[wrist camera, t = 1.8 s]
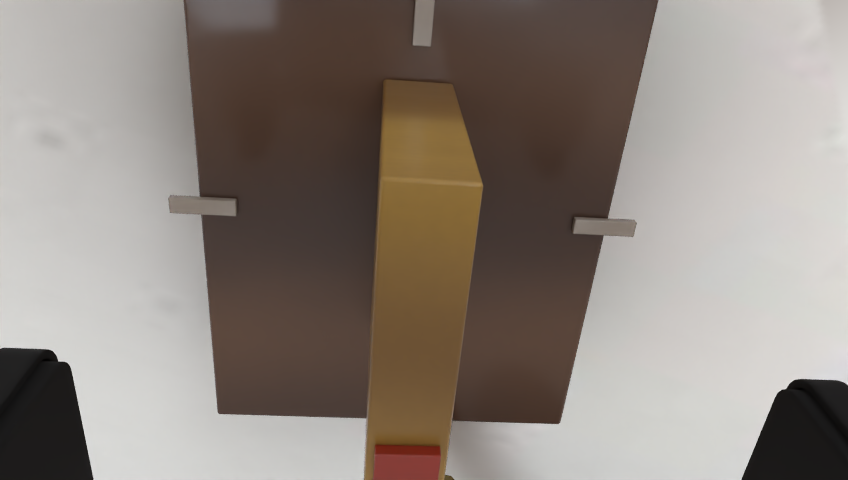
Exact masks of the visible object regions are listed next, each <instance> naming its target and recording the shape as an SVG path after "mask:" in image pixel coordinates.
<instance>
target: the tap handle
mask: <svg viewBox="0 0 848 480" xmlns="http://www.w3.org/2000/svg"><path fill="white" fill-rule="evenodd" d="M482 191H483V183H482V180H481V177H480V173H479V170H478V167H477V163H476V160H475V157H474V154H473V150H472V147H471V144H470V140H469V137H468V134H467V130H466V127H465V124H464V120H463V117H462V114H461V110H460V107H459V104H458V100H457V97H456V94H455V90H454V87H453V85H452V84H447V83H432V82H417V81H402V80H388V79H386V80H384V82H383V96H382V115H381V134H380V153H379V172H378V191H377V210H376V229H375V248H374V267H373V286H372V305H371V324H370V347H369V370H368V394H367V417H366V440H365V463H364V480H444V478H445V471H446V463H447V455H448V448H449V440H450V433H451V425H452V418H453V410H454V403H455V395H456V387H457V380H458V372H459V365H460V357H461V350H462V342H463V335H464V327H465V319H466V312H467V304H468V297H469V289H470V282H471V274H472V267H473V259H474V252H475V244H476V236H477V229H478V221H479V214H480V206H481V199H482Z"/></svg>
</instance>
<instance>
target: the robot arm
mask: <svg viewBox="0 0 848 480" xmlns="http://www.w3.org/2000/svg"><path fill="white" fill-rule="evenodd" d="M0 480H93V475H92V470H91V465H90V460H89V455H88V450H87V445H86V440H85V436H84V431H83V426H82V421H81V416H80V411H79V406H78V401H77V396H76V391H75V386H74V381H73V376H72V371H71V368H70V366H69V364H68V363H66V362H58V359H57V356H56V355H55V353H54V352H53V351H51V350H46V349H21V348H2V349H0ZM742 480H848V385H847V384H845V383H844V382H841V381H836V380H811V379H798V380H794V381H793V382H791V383H790V384H789V386H788V387H787V389H785V390H781V391H780V392H778V394H777V395H776V397H775V399H774V402H773V404H772V407H771V409H770V411H769V414H768V416H767V419H766V421H765V424H764V426H763V429H762V431H761V433H760V436H759V438H758V441H757V443H756V446H755V448H754V450H753V453H752V455H751V458H750V460H749V463H748V465H747V467H746V470H745V472H744V475H743V477H742Z"/></svg>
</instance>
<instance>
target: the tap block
mask: <svg viewBox="0 0 848 480" xmlns="http://www.w3.org/2000/svg"><path fill="white" fill-rule="evenodd" d="M657 4H658V0H184V11H185V23H186V35H187V47H188V59H189V71H190V83H191V95H192V107H193V119H194V131H195V144H196V156H197V168H198V180H199V192H200V197H196V196H177V195H170V196H169V198H168V200H169V209H170V213H182V214H201V216H202V228H203V240H204V252H205V264H206V277H207V289H208V301H209V313H210V325H211V337H212V349H213V361H214V373H215V385H216V398H217V410H218V413H219V414H237V415H271V416H306V417H340V418H366V417H367V394H368V370H369V347H370V324H371V305H372V286H373V267H374V248H375V229H376V210H377V191H378V172H379V153H380V134H381V115H382V96H383V82H384V80H386V79H388V80H402V81H417V82H432V83H447V84H452V85H453V87H454V90H455V94H456V97H457V100H458V104H459V107H460V110H461V114H462V117H463V120H464V124H465V127H466V130H467V134H468V137H469V140H470V144H471V147H472V150H473V154H474V157H475V160H476V163H477V167H478V170H479V173H480V177H481V180H482V183H483V191H482V199H481V206H480V214H479V221H478V229H477V236H476V244H475V252H474V259H473V267H472V274H471V282H470V289H469V297H468V304H467V312H466V319H465V327H464V335H463V342H462V350H461V357H460V365H459V372H458V380H457V387H456V395H455V403H454V410H453V418H452V421H476V422H510V423H544V424H559V423H560V421H561V417H562V413H563V408H564V404H565V400H566V395H567V391H568V387H569V382H570V378H571V374H572V370H573V365H574V361H575V357H576V352H577V348H578V344H579V339H580V335H581V331H582V326H583V322H584V318H585V314H586V309H587V305H588V301H589V296H590V292H591V288H592V283H593V279H594V275H595V271H596V266H597V262H598V258H599V253H600V249H601V245H602V240H603V236H604V235H609V236H628V237H633V236H634V232H635V228H636V224H637V223H636V221H635V220H625V219H608V215H609V210H610V206H611V202H612V197H613V193H614V189H615V184H616V180H617V176H618V172H619V167H620V163H621V159H622V154H623V150H624V146H625V141H626V137H627V133H628V128H629V124H630V120H631V116H632V111H633V107H634V103H635V98H636V94H637V90H638V85H639V81H640V77H641V72H642V68H643V64H644V60H645V55H646V51H647V47H648V42H649V38H650V34H651V29H652V25H653V21H654V17H655V12H656V8H657Z"/></svg>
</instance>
